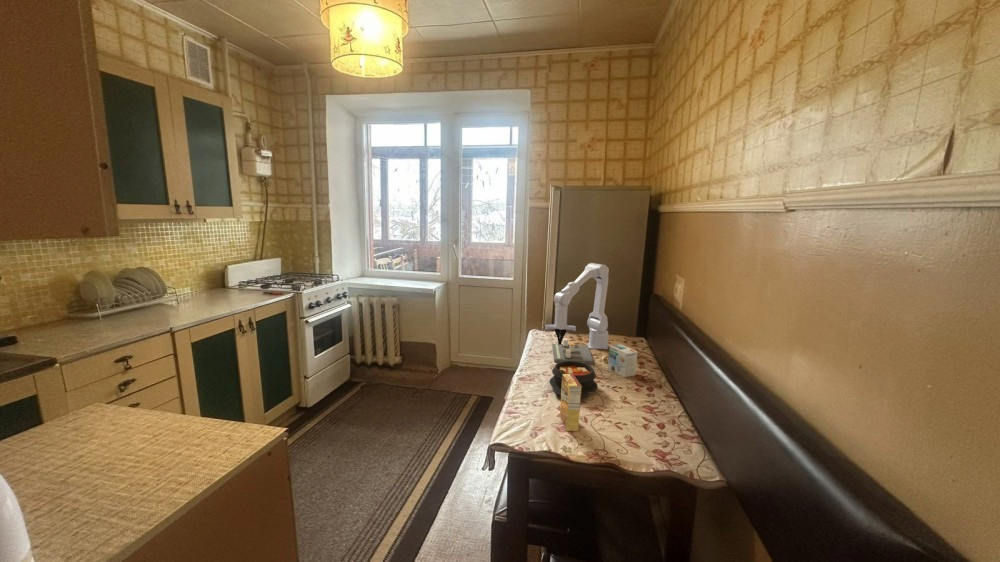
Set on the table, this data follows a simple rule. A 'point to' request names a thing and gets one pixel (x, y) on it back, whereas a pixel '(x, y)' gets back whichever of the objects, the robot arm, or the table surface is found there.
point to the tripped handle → (572, 347)
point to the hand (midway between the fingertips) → (559, 343)
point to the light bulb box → (622, 360)
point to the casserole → (581, 373)
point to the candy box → (570, 402)
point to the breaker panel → (571, 353)
